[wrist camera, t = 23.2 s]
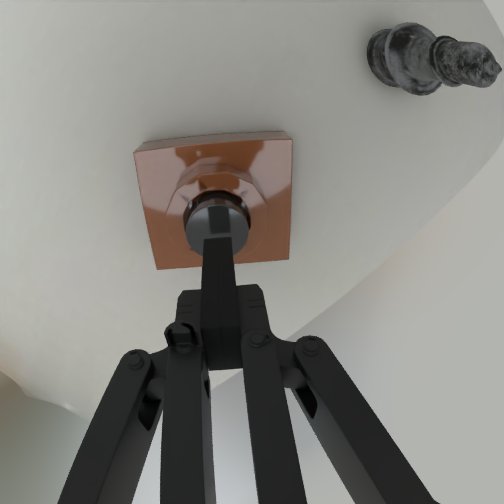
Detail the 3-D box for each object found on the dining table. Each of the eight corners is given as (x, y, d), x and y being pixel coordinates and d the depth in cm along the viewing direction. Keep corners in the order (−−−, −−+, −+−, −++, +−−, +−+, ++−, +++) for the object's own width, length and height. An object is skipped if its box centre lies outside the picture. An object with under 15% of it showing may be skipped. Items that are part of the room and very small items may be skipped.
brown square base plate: (284, 131, 23) (299, 145, 18) (282, 241, 28) (294, 274, 24) (142, 142, 22) (125, 159, 18) (161, 250, 27) (153, 285, 23)
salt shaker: (423, 92, 21) (526, 124, 11) (366, 89, 21) (467, 115, 11) (419, 30, 18) (525, 33, 8) (360, 22, 18) (460, 4, 8)
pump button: (244, 189, 20) (247, 202, 18) (247, 241, 22) (250, 257, 21) (184, 194, 20) (181, 207, 18) (191, 246, 22) (190, 262, 20)
